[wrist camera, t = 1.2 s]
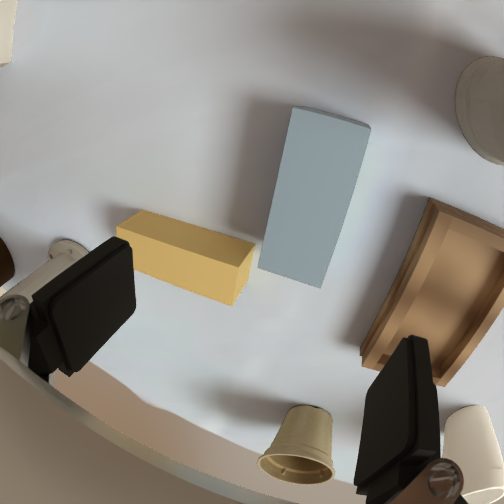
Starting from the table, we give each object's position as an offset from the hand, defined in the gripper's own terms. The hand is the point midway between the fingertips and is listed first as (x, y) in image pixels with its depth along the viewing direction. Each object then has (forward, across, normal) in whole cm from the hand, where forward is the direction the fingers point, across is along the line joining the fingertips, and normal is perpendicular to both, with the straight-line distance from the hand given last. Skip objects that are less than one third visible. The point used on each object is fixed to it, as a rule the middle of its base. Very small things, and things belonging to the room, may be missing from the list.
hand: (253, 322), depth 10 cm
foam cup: (+17, -29, +23) cm, 40 cm away
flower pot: (+17, -8, +30) cm, 35 cm away
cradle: (+17, -14, +7) cm, 23 cm away
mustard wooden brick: (+17, +10, +9) cm, 22 cm away
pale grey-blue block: (+17, 0, 0) cm, 17 cm away
